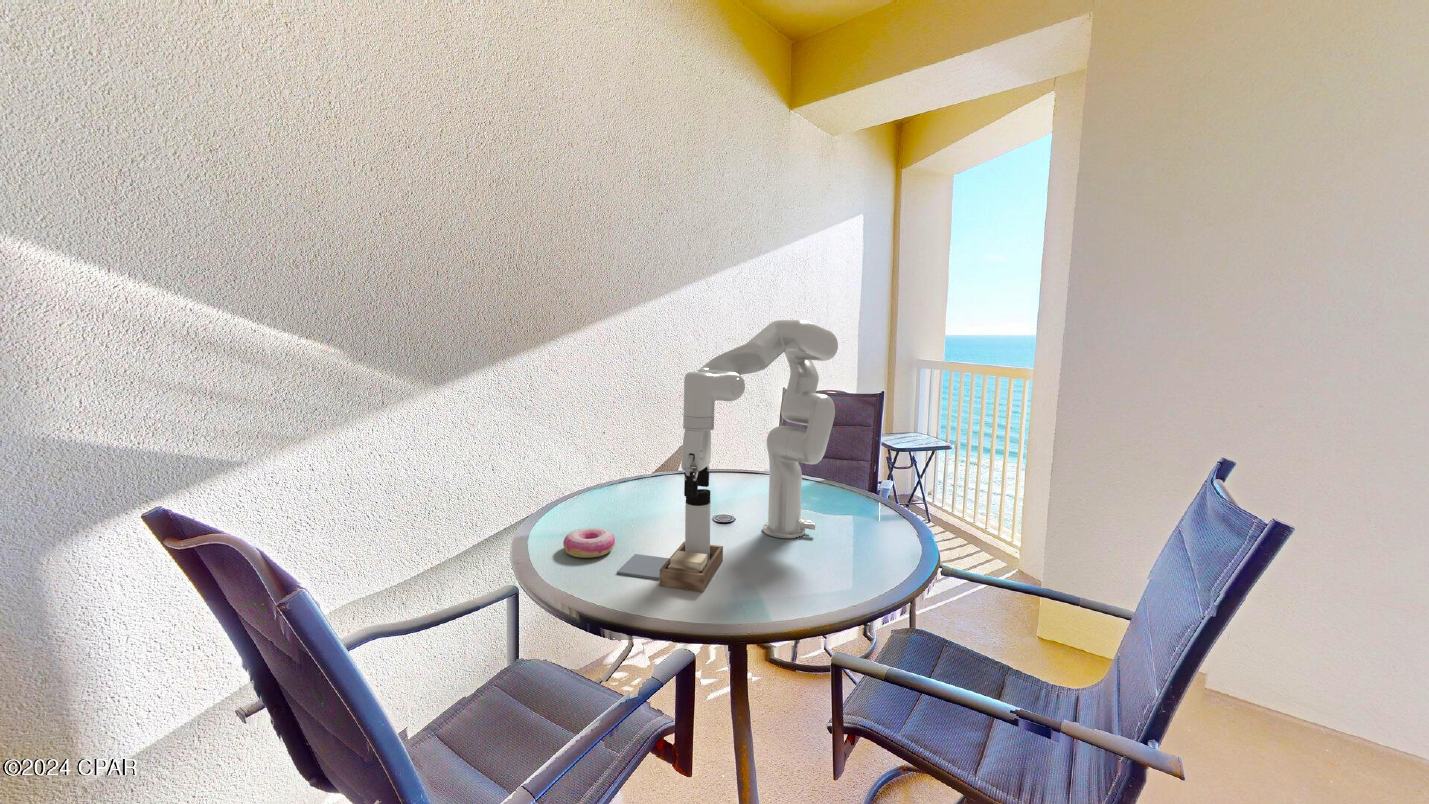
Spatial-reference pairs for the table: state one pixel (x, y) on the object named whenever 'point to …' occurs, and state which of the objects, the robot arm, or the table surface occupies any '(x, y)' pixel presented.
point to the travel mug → (698, 523)
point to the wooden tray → (689, 578)
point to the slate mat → (643, 566)
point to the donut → (589, 542)
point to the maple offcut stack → (688, 562)
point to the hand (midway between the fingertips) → (696, 491)
